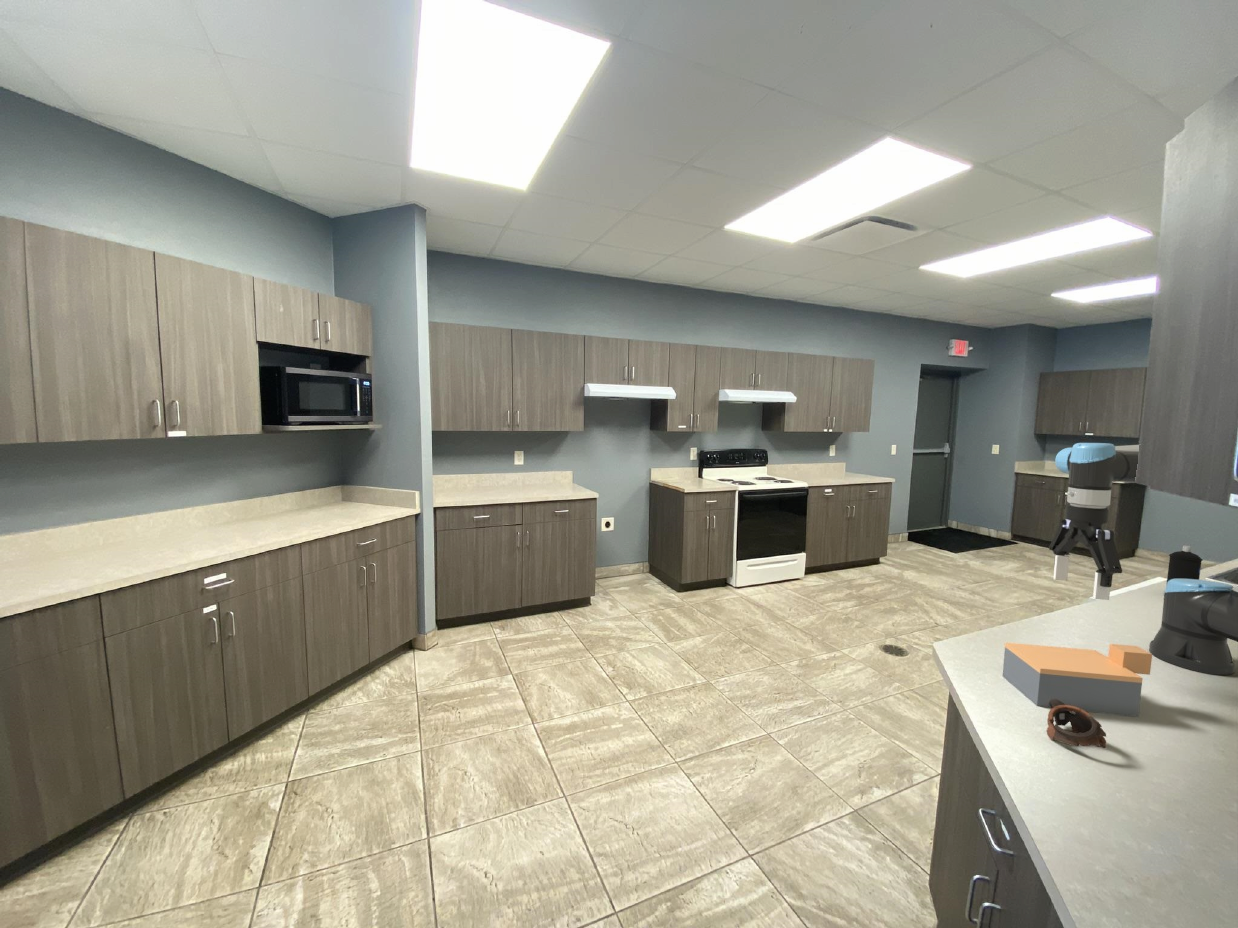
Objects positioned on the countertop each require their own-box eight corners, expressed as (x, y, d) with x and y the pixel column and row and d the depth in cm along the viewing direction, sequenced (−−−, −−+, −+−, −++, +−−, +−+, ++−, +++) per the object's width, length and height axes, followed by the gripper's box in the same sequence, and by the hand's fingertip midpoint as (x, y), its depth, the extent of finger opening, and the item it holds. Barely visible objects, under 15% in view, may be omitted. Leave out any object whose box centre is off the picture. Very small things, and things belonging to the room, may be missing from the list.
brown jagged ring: (1124, 760, 92) (1117, 731, 90) (1072, 773, 94) (1064, 745, 92) (1073, 709, 104) (1065, 683, 101) (1027, 721, 106) (1019, 696, 103)
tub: (1091, 684, 118) (1094, 654, 117) (1138, 716, 105) (1142, 682, 105) (1002, 676, 122) (1005, 646, 121) (1036, 705, 109) (1040, 673, 108)
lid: (1117, 659, 117) (1120, 637, 116) (1168, 688, 104) (1171, 663, 103) (1004, 649, 121) (1006, 628, 121) (1039, 676, 108) (1042, 652, 108)
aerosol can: (1178, 600, 175) (1185, 548, 174) (1157, 592, 183) (1163, 542, 182) (1204, 602, 174) (1211, 549, 172) (1182, 593, 182) (1188, 544, 180)
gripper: (1036, 496, 128) (1030, 572, 130) (1110, 514, 103) (1100, 606, 105) (1068, 497, 126) (1061, 573, 128) (1151, 516, 102) (1141, 609, 104)
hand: (1079, 588), depth 117 cm, fingers open, 13 cm apart
